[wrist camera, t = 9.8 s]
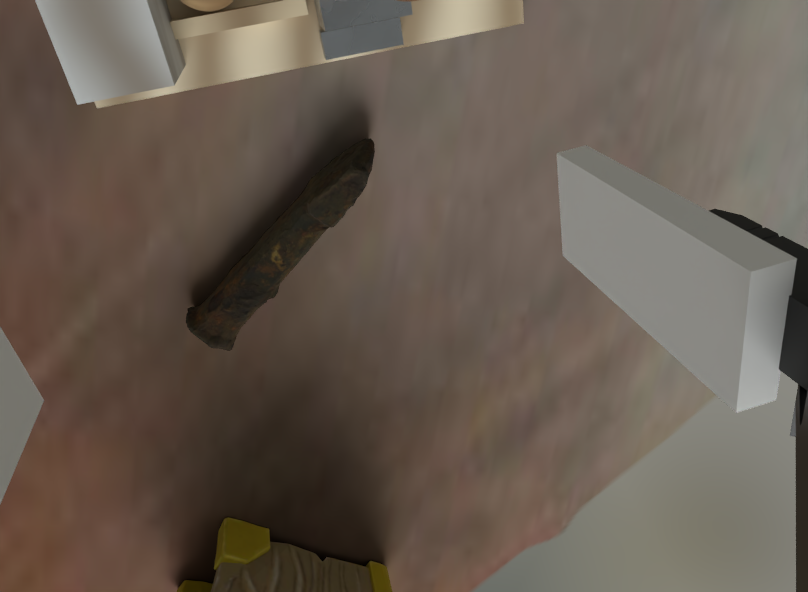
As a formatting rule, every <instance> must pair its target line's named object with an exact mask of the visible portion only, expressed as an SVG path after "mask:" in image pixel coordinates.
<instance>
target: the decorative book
mask: <svg viewBox="0 0 808 592" xmlns="http://www.w3.org/2000/svg"><path fill="white" fill-rule="evenodd" d="M214 569H215V570H217V571H216V575H215V578H214V582H213V584H211V583H207V582H203V581H192V580H185V581H184V582H183V583H182V584H181V586H180V587H179V588H178V590H177V592H392V589H391V584H390V580H389V575H388V571H387V567H386V566H384V565H382V564H380V563H377V562H373V561H370V562H369V563H368V564H367V565H366V567H365V566H361V565H357V564H354V563H349V562H345V561H341V560H337V559H333V558H329V557H326V558H325V560H324V561H323V562H322V561H321V559H320V558H319V557H318V556H317V555H316V554H315V553H312V552H310V551H307V550H304V549H301V548H299V547H296V546H293V545H291V544H287V543H278V542H270V533H269V529H268V528H264V527H260V526H257V525H254V524H251V523H248V522H245V521H242V520H237V519H233V518H229V517H228V518H225V519H224V520H223V522H222V525H221V527H220V529H219V531H218V542H217V552H216V558H215V565H214Z"/></svg>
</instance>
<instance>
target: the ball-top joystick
mask: <svg viewBox="0 0 808 592" xmlns="http://www.w3.org/2000/svg"><path fill="white" fill-rule="evenodd" d="M411 1H418V0H314V4H315V8H316V13H317V18H318V23H319V25H320V26H321V27H322V28H323V30H319V34H320V39H321V44H322V49H323V54H324V58H325V59H326V60H329V59H334V58H339V57H344V56H349V55H354V54H359V53H364V52H369V51H374V50H379V49H384V48H389V47H394V46H399V45H404V42H403V35H402V28H401V22H400V17H403V16H408V15H413V13H412V5H411Z"/></svg>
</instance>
